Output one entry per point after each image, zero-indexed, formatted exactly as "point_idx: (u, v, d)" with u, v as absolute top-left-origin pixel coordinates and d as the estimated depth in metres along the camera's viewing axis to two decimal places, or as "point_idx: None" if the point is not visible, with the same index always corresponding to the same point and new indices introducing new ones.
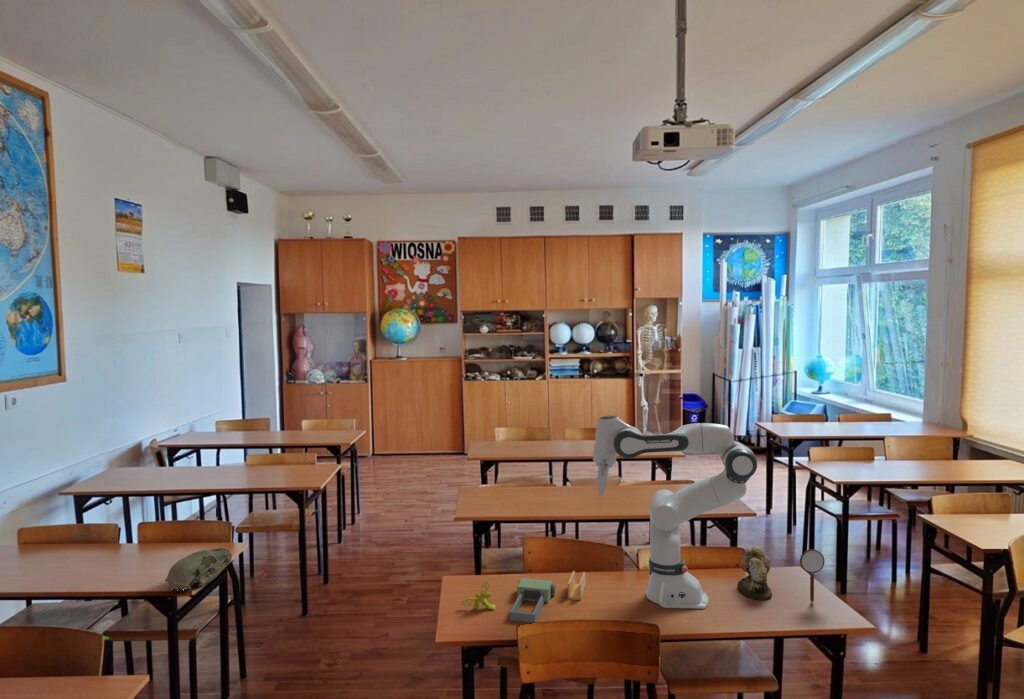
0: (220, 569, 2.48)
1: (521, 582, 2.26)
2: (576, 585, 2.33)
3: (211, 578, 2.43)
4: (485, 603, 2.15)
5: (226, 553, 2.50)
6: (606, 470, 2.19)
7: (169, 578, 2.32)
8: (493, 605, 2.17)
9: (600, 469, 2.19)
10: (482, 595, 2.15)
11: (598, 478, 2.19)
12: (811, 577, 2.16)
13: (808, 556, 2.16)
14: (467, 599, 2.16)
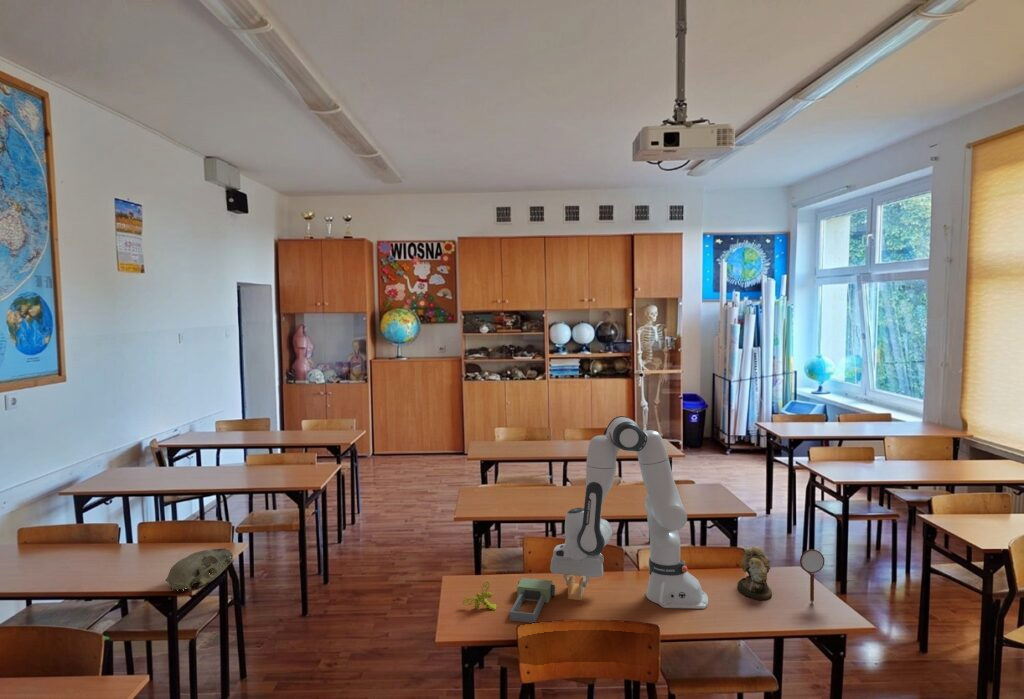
0: (221, 569, 2.47)
1: (521, 582, 2.26)
2: (576, 585, 2.33)
3: (212, 578, 2.43)
4: (486, 603, 2.15)
5: (227, 553, 2.50)
6: None
7: (169, 578, 2.32)
8: (494, 605, 2.17)
9: (600, 560, 2.25)
10: (483, 595, 2.16)
11: (601, 569, 2.24)
12: (811, 577, 2.16)
13: (808, 556, 2.16)
14: (468, 599, 2.16)
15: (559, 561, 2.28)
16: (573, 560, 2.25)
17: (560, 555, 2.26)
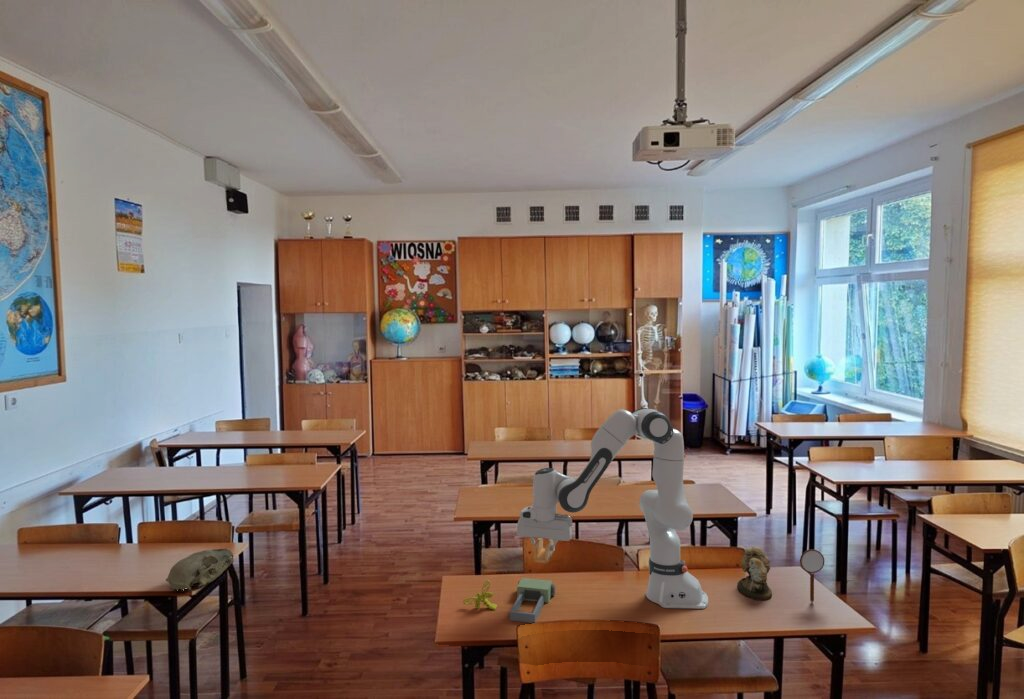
0: (221, 569, 2.47)
1: (521, 582, 2.26)
2: (544, 549, 2.23)
3: (212, 578, 2.42)
4: (486, 603, 2.15)
5: (228, 553, 2.50)
6: None
7: (169, 578, 2.32)
8: (494, 605, 2.17)
9: (568, 523, 2.15)
10: (483, 594, 2.16)
11: (569, 532, 2.15)
12: (811, 577, 2.16)
13: (808, 556, 2.16)
14: (468, 598, 2.16)
15: (526, 524, 2.19)
16: (540, 522, 2.16)
17: (527, 517, 2.17)
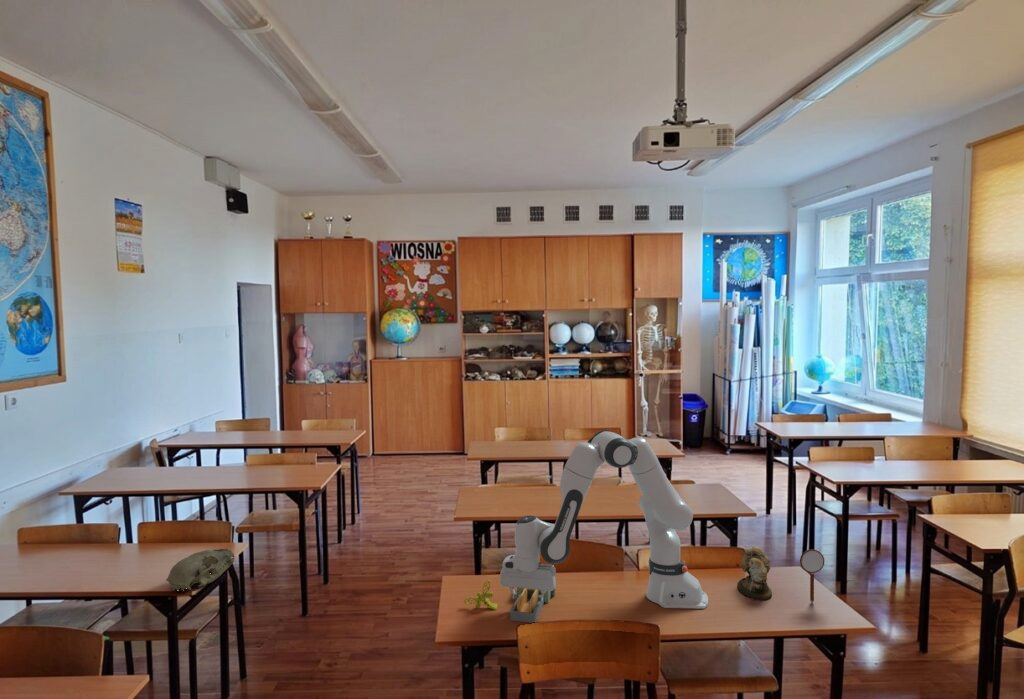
0: (222, 570, 2.47)
1: None
2: (528, 602, 2.19)
3: (212, 579, 2.42)
4: (487, 602, 2.16)
5: (228, 554, 2.49)
6: None
7: (169, 578, 2.32)
8: (495, 604, 2.17)
9: (551, 572, 2.10)
10: (484, 594, 2.16)
11: (553, 582, 2.10)
12: (811, 577, 2.16)
13: (808, 556, 2.16)
14: (469, 598, 2.17)
15: (508, 573, 2.14)
16: (523, 572, 2.11)
17: (509, 567, 2.12)
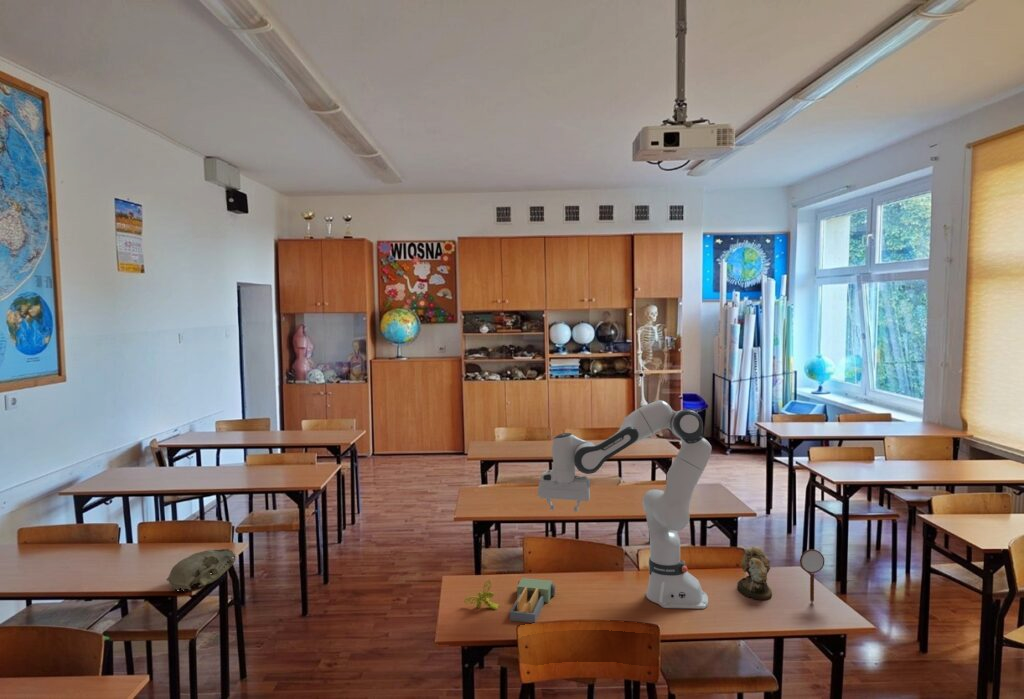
0: (223, 570, 2.46)
1: (521, 582, 2.26)
2: (528, 602, 2.19)
3: (213, 579, 2.42)
4: (487, 602, 2.16)
5: (229, 554, 2.49)
6: None
7: (170, 578, 2.32)
8: (496, 604, 2.17)
9: (587, 484, 2.27)
10: (484, 594, 2.16)
11: (588, 492, 2.26)
12: (811, 577, 2.16)
13: (808, 556, 2.16)
14: (470, 597, 2.17)
15: (546, 486, 2.30)
16: (560, 484, 2.27)
17: (547, 479, 2.28)
